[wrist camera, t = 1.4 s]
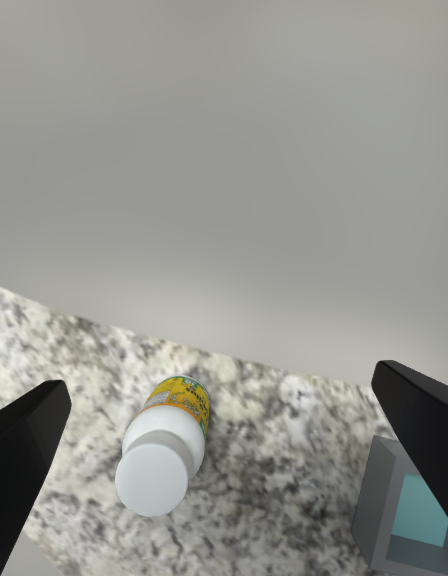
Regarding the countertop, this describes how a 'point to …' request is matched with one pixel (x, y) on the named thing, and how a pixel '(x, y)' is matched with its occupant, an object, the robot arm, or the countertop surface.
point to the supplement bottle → (164, 447)
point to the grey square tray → (399, 516)
